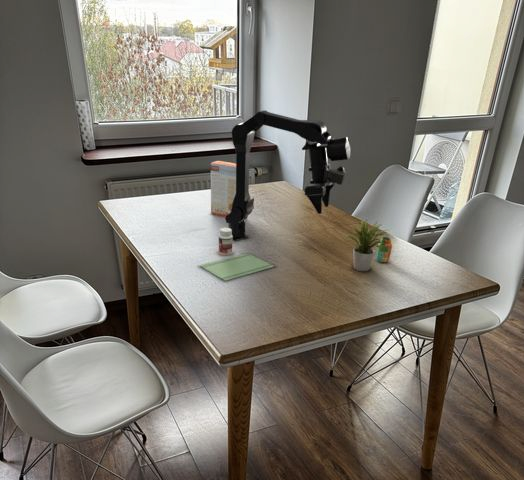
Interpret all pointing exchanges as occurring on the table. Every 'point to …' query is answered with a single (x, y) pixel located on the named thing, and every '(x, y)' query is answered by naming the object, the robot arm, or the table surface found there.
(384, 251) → the colorful patterned jar
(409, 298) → the table surface
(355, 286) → the table surface
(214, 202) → the cracker box
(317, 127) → the robot arm
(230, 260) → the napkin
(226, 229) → the pill bottle
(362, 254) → the house plant
